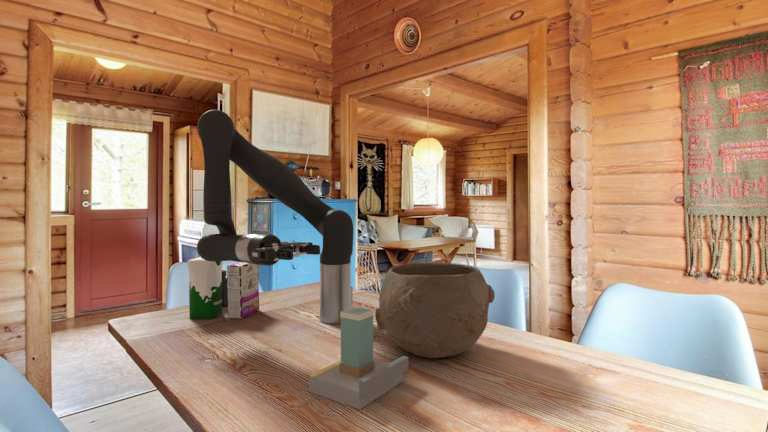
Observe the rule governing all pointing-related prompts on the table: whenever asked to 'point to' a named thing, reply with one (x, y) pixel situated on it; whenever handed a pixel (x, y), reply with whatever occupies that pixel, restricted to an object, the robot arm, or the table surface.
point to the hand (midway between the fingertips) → (306, 252)
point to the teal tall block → (356, 342)
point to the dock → (358, 382)
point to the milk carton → (205, 288)
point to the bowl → (434, 307)
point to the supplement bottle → (224, 289)
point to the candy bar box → (242, 290)
